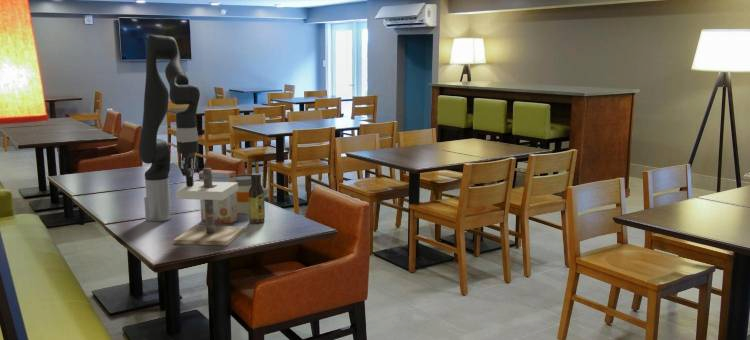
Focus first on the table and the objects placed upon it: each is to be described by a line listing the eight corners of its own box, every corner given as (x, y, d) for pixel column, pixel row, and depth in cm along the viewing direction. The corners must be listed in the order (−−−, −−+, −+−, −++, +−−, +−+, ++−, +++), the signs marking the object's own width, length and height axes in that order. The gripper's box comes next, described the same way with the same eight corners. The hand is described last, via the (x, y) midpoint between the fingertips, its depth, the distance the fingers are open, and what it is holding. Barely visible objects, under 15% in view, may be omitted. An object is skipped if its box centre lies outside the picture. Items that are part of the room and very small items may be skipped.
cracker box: (238, 220, 259) (236, 170, 255) (230, 224, 253) (228, 173, 250) (209, 217, 264) (206, 168, 260) (200, 221, 258) (198, 171, 254)
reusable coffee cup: (256, 214, 269) (255, 179, 266) (227, 213, 269) (225, 179, 267) (262, 207, 282) (261, 174, 279) (234, 207, 282) (233, 174, 279)
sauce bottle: (261, 224, 253) (259, 175, 249) (247, 223, 254) (245, 175, 251) (267, 220, 259) (265, 172, 256) (253, 219, 260) (251, 172, 257)
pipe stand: (173, 243, 227) (169, 173, 222) (195, 228, 246) (191, 163, 242) (227, 245, 224) (223, 174, 220) (244, 230, 244) (242, 164, 239)
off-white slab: (176, 198, 225) (176, 190, 225) (195, 189, 242) (195, 181, 241) (222, 200, 223) (222, 191, 223) (238, 190, 240) (237, 182, 239)
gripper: (184, 137, 237) (187, 182, 240) (169, 142, 224) (172, 189, 227) (204, 137, 236) (206, 182, 239) (189, 142, 223) (192, 189, 226)
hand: (190, 186), depth 233 cm, fingers closed
